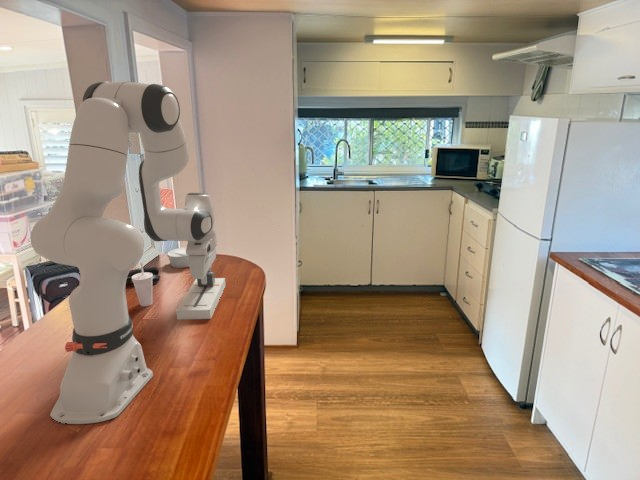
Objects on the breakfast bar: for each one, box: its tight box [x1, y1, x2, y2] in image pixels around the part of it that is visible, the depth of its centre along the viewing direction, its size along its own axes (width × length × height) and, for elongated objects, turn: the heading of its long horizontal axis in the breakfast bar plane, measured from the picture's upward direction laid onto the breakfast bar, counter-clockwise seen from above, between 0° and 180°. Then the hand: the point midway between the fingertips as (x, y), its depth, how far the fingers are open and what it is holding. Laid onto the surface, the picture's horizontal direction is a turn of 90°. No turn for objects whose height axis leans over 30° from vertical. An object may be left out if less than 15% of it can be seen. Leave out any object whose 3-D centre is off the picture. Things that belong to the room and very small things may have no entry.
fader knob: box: [197, 270, 216, 286], centre depth 143 cm, size 3×5×4 cm, turn 92°
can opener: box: [126, 266, 161, 285], centre depth 153 cm, size 18×7×6 cm, turn 107°
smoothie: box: [131, 261, 153, 307], centre depth 136 cm, size 6×6×14 cm
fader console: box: [175, 277, 226, 320], centre depth 139 cm, size 24×10×3 cm, turn 1°
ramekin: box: [167, 246, 190, 269], centre depth 171 cm, size 11×11×5 cm
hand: (206, 280), depth 143 cm, fingers closed on fader knob, 3 cm apart
